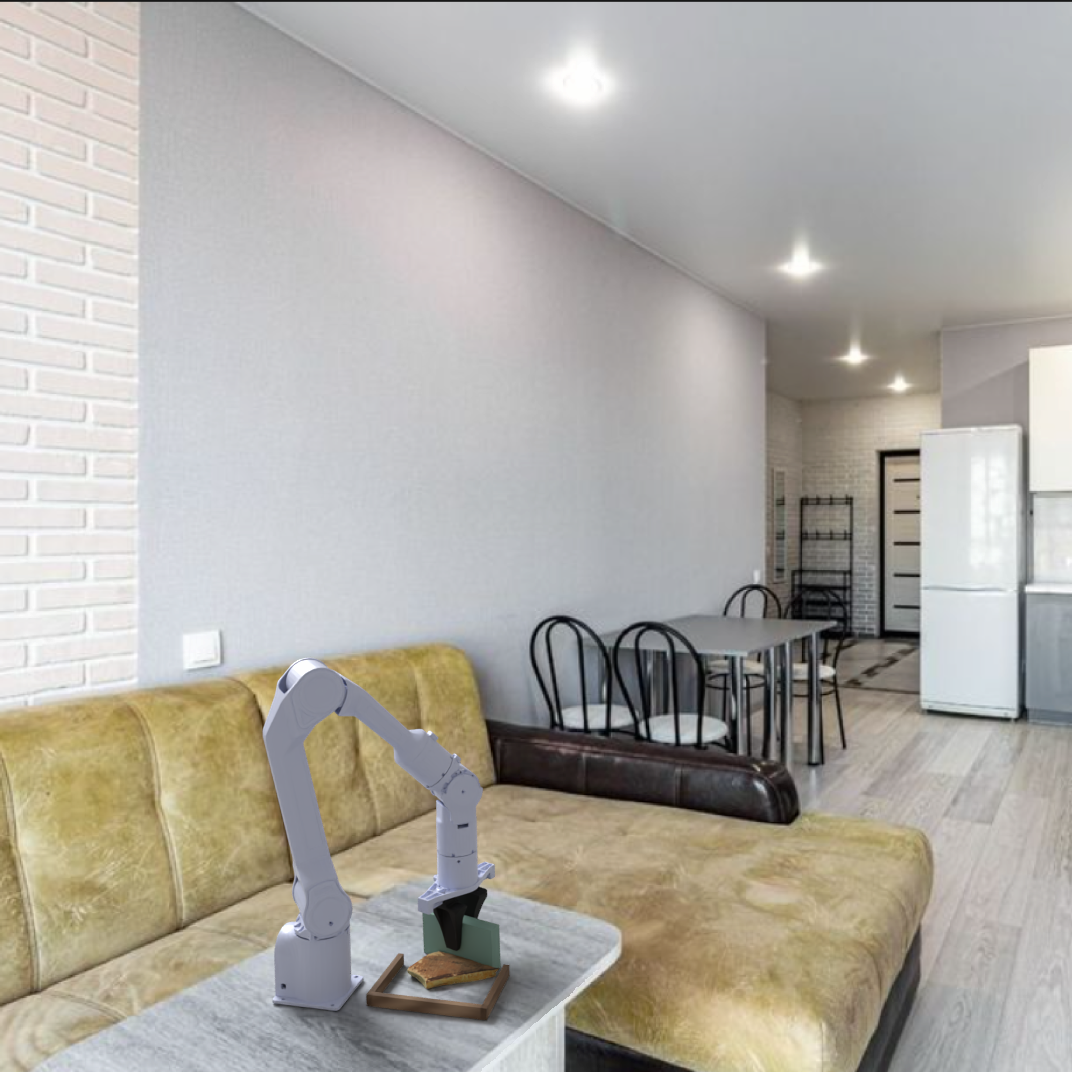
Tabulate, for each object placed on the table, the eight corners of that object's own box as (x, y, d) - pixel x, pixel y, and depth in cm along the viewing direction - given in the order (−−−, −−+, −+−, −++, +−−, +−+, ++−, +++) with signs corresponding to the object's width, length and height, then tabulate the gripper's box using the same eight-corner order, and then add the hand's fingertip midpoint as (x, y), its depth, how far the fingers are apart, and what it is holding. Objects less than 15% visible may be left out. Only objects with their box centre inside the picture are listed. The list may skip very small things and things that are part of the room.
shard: (499, 978, 121) (499, 965, 121) (466, 1006, 114) (466, 992, 114) (436, 959, 126) (436, 946, 126) (401, 984, 120) (401, 971, 120)
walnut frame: (366, 1005, 114) (366, 994, 114) (398, 963, 125) (398, 953, 125) (486, 1020, 110) (486, 1008, 110) (509, 975, 121) (509, 964, 121)
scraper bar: (500, 966, 123) (499, 924, 123) (492, 973, 122) (491, 931, 121) (432, 946, 129) (430, 906, 129) (423, 952, 128) (422, 911, 127)
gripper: (468, 828, 133) (470, 917, 134) (400, 860, 121) (403, 958, 122) (505, 837, 129) (507, 929, 130) (439, 872, 117) (441, 972, 118)
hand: (459, 944), depth 125 cm, fingers closed on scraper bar, 2 cm apart
